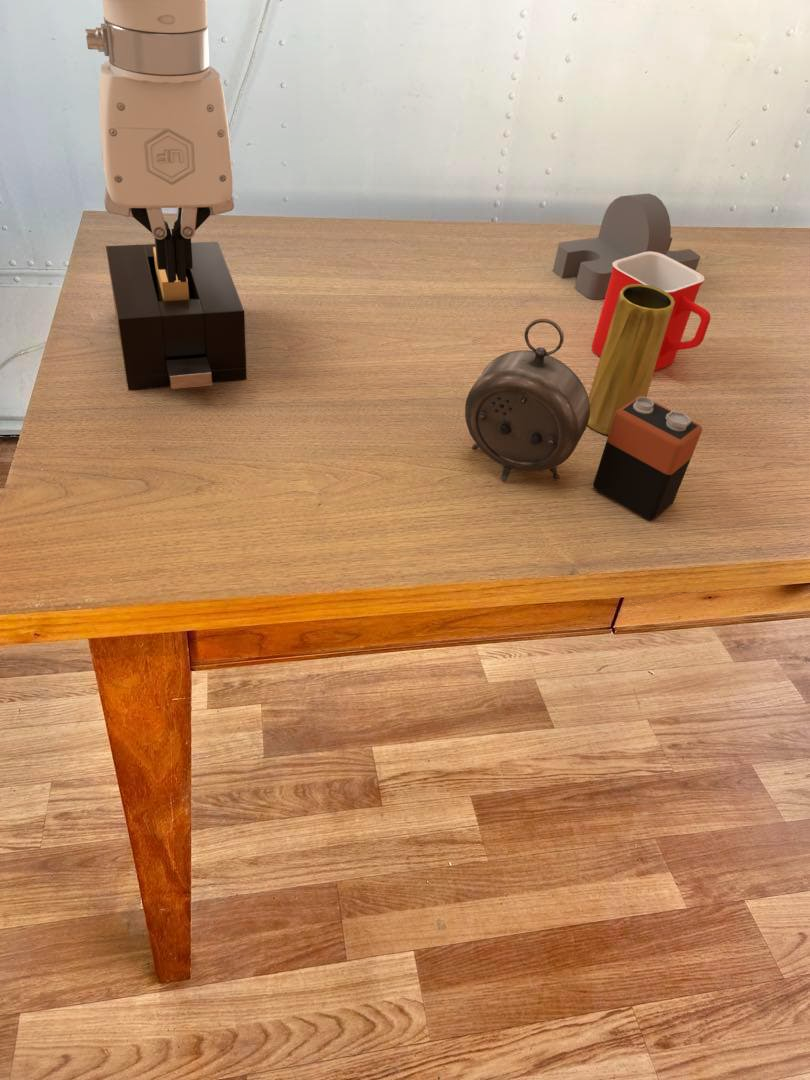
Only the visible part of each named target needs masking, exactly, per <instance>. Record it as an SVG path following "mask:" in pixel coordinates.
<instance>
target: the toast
mask: <svg viewBox="0 0 810 1080" xmlns="http://www.w3.org/2000/svg"><path fill="white" fill-rule="evenodd" d="M153 252H154V261H155V271H156V280H157V290H158V299H159V301H175V300H189V290H188V280H187V282H180V281H178V278H177V275H176V281H174V282H173V283H168V279H167V275H166V272H165V270H158V266H157V259H156V247H153ZM186 279H187V277H186Z"/></svg>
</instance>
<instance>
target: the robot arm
mask: <svg viewBox="0 0 810 1080" xmlns="http://www.w3.org/2000/svg"><path fill="white" fill-rule="evenodd" d="M207 1H208V0H102V2H101V3H102V10H103V23H100V27H98V26H97V27H95V29H94V28H85V30H84V31H85V38H86V47H87V50H93V51H94V50H96V51H98V53H103V54H104V57H108V60H107V61H104V62H103V63H102V64H101V66H100V71H99V72H100V73H99V85H98V100H99V101H98V102H99V113H98V114H99V118H98V119H99V135H100V146H101V157H102V159H101V160H102V166H103V167H102V169H103V175H104V180H105V184H106V185H105V192H104V200H103V201H104V203H103V204H104V208H105V210H106V212H107V213H109V214H113V215H118V216H121V217H126V218H133V219H135V221H137V222H138V223H139V224H141V225H142V226H143V227H144V228H145V229H146V230H148V231H149V232H150V233H151V234H152V236H153V237H154V244H155V247H156V259H157V266H158V270H165V272H166V275H167V279H168V283H173V282H174V281H176V275H177V278H178V281H180V282H187V279H186V269H192V268H193V263H192V247H191V243H192V238H193V237H194V236H195V234H196V231H197V230H198V229H199V228H200V227H201V226H202V225H203V224H204V222H205V221H206V220H208V218H209V217H210V216H217V215H221V214H225V213H228V212H232V211H233V209H234V208H235V203H234V200H233V197H232V196H233V187H234V186H233V184H234V183H233V168H232V167H233V165H232V164H233V163H232V152H231V140H230V139H231V138H230V129H229V119H228V112H227V103H226V98H225V91H224V88H223V87H224V86H223V81H222V79H221V75H220V72H219V71H217V70H216V69H215V68H214V67H213V66H211V65H210V53H209V52H210V49H209V27H208V24H209V23H208V3H207ZM162 209H176V210H177V211H176V220H175V221H174V222H173V228H170V227H169V223H168V222H167V221H166V220H165V218H164V214H163V210H162Z"/></svg>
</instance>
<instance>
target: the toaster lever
mask: <svg viewBox="0 0 810 1080" xmlns="http://www.w3.org/2000/svg"><path fill="white" fill-rule="evenodd" d="M166 362H167V371H168V377H169V381H170V385H171V386H170V389H171V390H175V389H187V388H197V387H198V388H200V387H208V386H209V387H210V386H213V383H212V373H211V369H210V366H209V363H208V359H207V357H202V358H189V359H177V360H167V361H166Z"/></svg>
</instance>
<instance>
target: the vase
mask: <svg viewBox="0 0 810 1080" xmlns="http://www.w3.org/2000/svg"><path fill="white" fill-rule="evenodd" d="M674 303H675V302H674V299H673V297H672V296H671V295H670V294H668V293H667V292H665V291H663V290H662V289H659V288H656V287H653V286H650V285H644V284H632V285H628V286H625V287H624V288H623V289H622V290H621V292H620V294H619V297H618V301H617V304H616V307H615V311H614V314H613V317H612V321H611V324H610V327H609V331H608V335H607V339H606V342H605V345H604V348H603V351H602V354H601V357H600V356H599V361H598V363H597V366H596V370H595V373H594V376H593V380H592V384H591V388H590V391H589V393H588V398H589V404H590V416H589V421H588V424H587V426H588V427H589V428H590V429H592V430H593V431H595V432H597V433H599V434H603V435H605V436H608V435H609V432H610V429H611V425H612V422H613V419H614V416H615V413H616V411H617V410H618V409H620V408H621V407H623V406H624V405H626V404H627V403H629V402H630V401H632V400H633V399H634V398H636V397H638V396H643V397H646V398H648V394H649V390H650V386H651V382H652V379H653V376H654V372H655V371H654V369H655V365H656V362H657V358H658V355H659V351H660V348H661V345H662V342H663V338H664V335H665V332H666V329H667V326H668V323H669V320H670V317H671V314H672V310H673V307H674Z"/></svg>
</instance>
